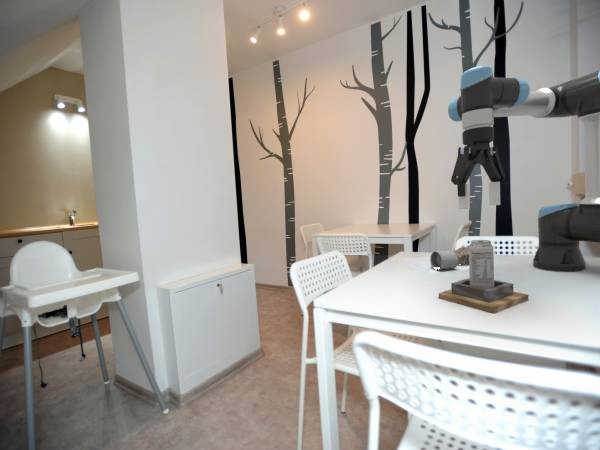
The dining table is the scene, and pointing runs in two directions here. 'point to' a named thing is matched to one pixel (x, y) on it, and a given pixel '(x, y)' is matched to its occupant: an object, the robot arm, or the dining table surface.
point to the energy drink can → (481, 264)
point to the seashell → (462, 255)
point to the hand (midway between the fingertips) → (480, 207)
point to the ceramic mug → (444, 259)
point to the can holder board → (484, 296)
